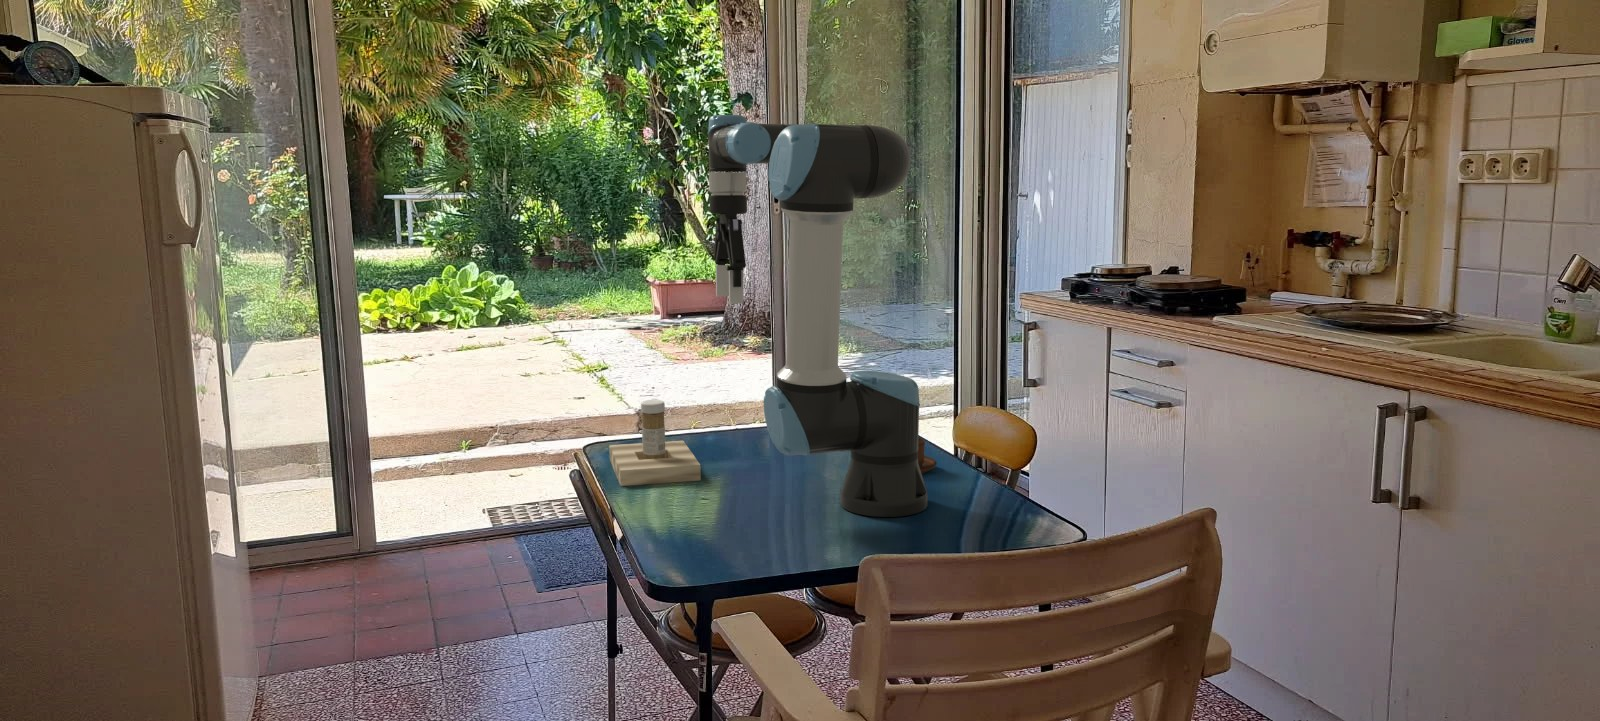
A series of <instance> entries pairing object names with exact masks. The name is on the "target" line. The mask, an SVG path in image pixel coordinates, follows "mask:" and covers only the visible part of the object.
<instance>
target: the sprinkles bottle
mask: <svg viewBox="0 0 1600 721" xmlns="http://www.w3.org/2000/svg"><path fill="white" fill-rule="evenodd" d="M665 411H666V405H665V400H661V399H647V400H644V401H642V402H641V403H640V412H641V419H642V420H641V422H642V423H641V430H642V431H641V432H642V433H641V437H642V438H641V439H642V440H641V441H642V442H641V443H642V448H643V460H645V459H660V458H665V442H666V428H665Z"/></svg>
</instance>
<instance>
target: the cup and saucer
mask: <svg viewBox="0 0 1600 721" xmlns="http://www.w3.org/2000/svg"><path fill="white" fill-rule="evenodd" d="M925 442H926V441H925V439H924V438H922V437H919V436H918V464H919V468H920V471H921V474H924V473H927V472H930V471H932V470H933V469H934V468H936V466H937V461H936V460H935V459H934V458H932V457H930V456H927V455H925Z"/></svg>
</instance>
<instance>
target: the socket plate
mask: <svg viewBox="0 0 1600 721" xmlns="http://www.w3.org/2000/svg"><path fill="white" fill-rule="evenodd" d="M608 448H609V461H610V463H611V467H612V469H613V471H614V473H615V476H616V478H617V480H618V483H619V486H620V487H626V486H627V487H628V486H639V485H640V486H641V485H643V486H644V485H654V484H669V483H681V482H694V481H695V482H697V481H701V479H702V478H701V475H702V473H701V472H702V471H701V470H702V469H701V463H700V462H699V461H698V459H697V458H696V456H695V455H694V454H693V452H692V451H691V449H690V448H689V447H688V445H687V444H686V443H685V441H684V440H674V441H673V440H671V441H665V458H660V459H645V460H643V448H642V442H638V443H624V444H622V443H621V444H610V445H609V447H608Z"/></svg>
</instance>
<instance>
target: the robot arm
mask: <svg viewBox="0 0 1600 721" xmlns="http://www.w3.org/2000/svg"><path fill="white" fill-rule="evenodd" d="M707 137H708V170H709V171H708V191H709V192H710V193H711V195H710V196H709V213H710V214H713V215H719V216H716V218H715V237H714V247H713V258H712V259H713V261H714V263H715V296H716V297H717V298H718V297H729V298H728V299H729V302H728V303H729V304H730V305H731V304H732V305H733V304H737V305H738V304H744V271H745V270H744V269H745V268H746V267H747V263H746V256H745V255H746V254H745V248H744V237H743V221H742V219H739V218H738V215H745V214H747V212H748V197H747V195H746V194H744V193H746V192H747V191H748V190H747V188H748V187H747V186H748V185H747V183H748V182H750V177H748V176H747V175H748V174H747V172H748V168H747V165H754V164H767V165H768V172H767V173H768V179H767V180H768V182H769V187H768V188H769V191H770V193H771V195H772V197H773V198H775V199H777V200H778V201H780V211H782V212H783V214H784V215H785V216H786V217H787V218H788V220H789V241H788V243H789V245H788V246H789V248H788V250H789V251H788V283H787V285H788V286H787V290H788V291H787V320H786V321H787V323H786V324H787V325H786V328H787V329H786V356H785V357H786V361H785V362H786V363H785V365H784V366H783V367H782V368H781V369H779V371H777V373H776V386H775V385H772V386H770V387H767V389H766V390H765V391H764V396H763V414H764V419H765V424H766V428H767V432H768V434H769V437H770V439H771V441H772V443H773V445H774V447H775V448H776V449H777V451H779V452H780V453H781V454H783V455H784V456H785V455H786V456H804V457H805V456H806V457H807V456H809V455H818V454H825V453H836V452H846V451H850V462H849V464H848V465H849V466H848V468H847V471H846V474H845V476H844V481H843V483H842V485H841V488H840V493H839V494H840V501H839V502H840V506H841V507H842V508H843V509H844V510H846V511H847V512H848V511H849V512H850V513H853V514H857V515H863V516H869V517H876V518H881V517H882V518H896V517H906V516H912V515H915V514H919V513H921V512H923V511H925V510H926V509H927V507H928V491H927V487H926V484H925V480H924V477H923V475H922V474H923V473H921V471H920V468H919V464H918V437H919V433H920V432H919V430H920V429H919V428H920V424H919V422H920V407H921V404H920V391H919V389H920V388H919V384H918V383H917V382H916V381H915V380H914V379H913V378H911V377H908V376H905V375H900V374H896V373H890V372H884V371H876V370H875V371H874V370H855V371H853V372H852V373H851V374H850V377H849V378H850V381H847V377H848V376H847V374H846V373H845V372H844V371H843V369H841V367H840V366H839V347H840V341H839V340H840V321H841V320H840V318H841V316H840V315H841V290H842V289H841V288H842V266H843V261H842V260H843V240H844V239H843V236H844V235H843V234H844V221H845V220H847V218H848V217H850V216H851V214H853V212H854V200H855V199H873V198H879V197H883V196H886V195H887V194H889V193H891V192H893V191H894V190H897V188H898V187H900V186H901V184H903V182H904V181H905V179H906V178H907V177H908V174H909V171H910V168H911V161H912V160H911V156H912V155H911V152H910V148H909V146H908V145H907V144H908V143H907V142H906V141H905V139H904V138H903V137H902V136H901V135H900V134H899V133H897V132H895V131H894V130H891V129H890V128H887V127H884V126H880V125H870V124H863V125H862V124H861V125H858V124H826V123H825V124H824V123H823V124H822V123H813V122H812V123H803V124H802V123H801V124H799V123H796V124H795V123H794V124H787V123H786V124H784V123H756V122H753V121H752V122H748V121H747V120H746V117H745V116H744V115H740V114H714V115H712V116H710V117H709V119H708V131H707Z"/></svg>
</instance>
